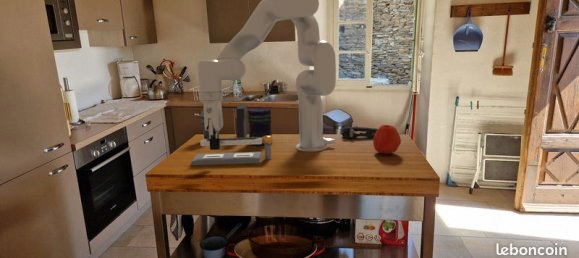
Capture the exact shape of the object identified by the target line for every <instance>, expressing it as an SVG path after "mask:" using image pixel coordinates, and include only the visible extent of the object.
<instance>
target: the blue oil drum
mask: <svg viewBox="0 0 579 258" xmlns="http://www.w3.org/2000/svg"><path fill="white" fill-rule="evenodd" d="M247 119H248V122H247V123H248V124H249V125H248V126H249V127H248V128H249V132H248V134H249V135H248V138H249V137H262V136H266V135H270V136H272V137H273V133H272V132H273V131H272V109H271V108H269V107H254V108H249V109H247ZM249 145H250V146H252V147H255V146H256V147H255V148H257V147H259V148H262V146H264V143H263V140H262V144H249ZM271 145H273V142H272V143H271Z"/></svg>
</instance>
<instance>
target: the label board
mask: <svg viewBox="0 0 579 258" xmlns="http://www.w3.org/2000/svg"><path fill="white" fill-rule="evenodd" d="M261 157H262V152H261V151H246V152H241V151H240V152H218V153H215V152H213V153H197V154H196V155H195V156H194V157H193V159H192V160H191V166H209V165H210V166H213V165H214V166H215V165H240V164H241V165H243V164H244V165H245V164H247V165H248V164H260V162H261ZM264 160H266V161H271V160H272V144H271V143H270V144H264Z"/></svg>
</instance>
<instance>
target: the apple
mask: <svg viewBox="0 0 579 258" xmlns="http://www.w3.org/2000/svg"><path fill="white" fill-rule="evenodd" d="M376 129H377V131H376V132H374V134H375V136H374V138H372V139H373V141H372V143H373V148H374V150H375V152H378V153H380V154H393V153H395V152H397V150H398V149H399V148H400V146H401V143H402V139H401V136H400V134H399V131H398V129H397V128H396V127H395V126H394V125H390V124H383V125H380V126H379V127H378V128H376Z"/></svg>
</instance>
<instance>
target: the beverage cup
mask: <svg viewBox="0 0 579 258" xmlns="http://www.w3.org/2000/svg"><path fill="white" fill-rule="evenodd" d="M199 118H200V122H201V128H202V132H203V133H202V134H203V138H204V139H209V130H208V131H206V130H205V124H204V109H203V108H202V110H201V111H200V115H199Z"/></svg>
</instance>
